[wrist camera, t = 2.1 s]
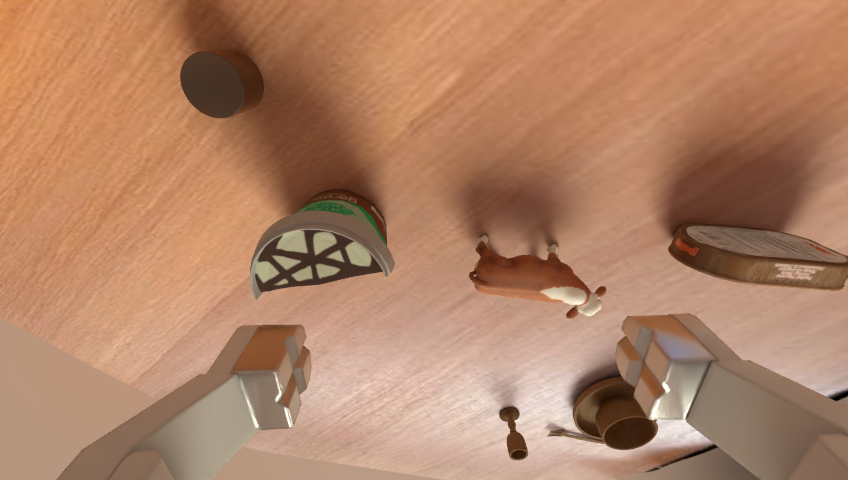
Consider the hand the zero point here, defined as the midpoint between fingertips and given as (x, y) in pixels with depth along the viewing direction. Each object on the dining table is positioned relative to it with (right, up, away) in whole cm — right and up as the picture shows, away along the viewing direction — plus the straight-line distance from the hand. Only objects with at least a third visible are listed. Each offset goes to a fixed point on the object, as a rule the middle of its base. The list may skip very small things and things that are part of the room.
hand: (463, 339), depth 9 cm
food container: (-10, +6, +28) cm, 31 cm away
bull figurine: (+10, +1, +31) cm, 33 cm away
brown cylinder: (-17, +16, +23) cm, 33 cm away
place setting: (+22, -19, +42) cm, 51 cm away
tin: (+31, +3, +30) cm, 43 cm away
